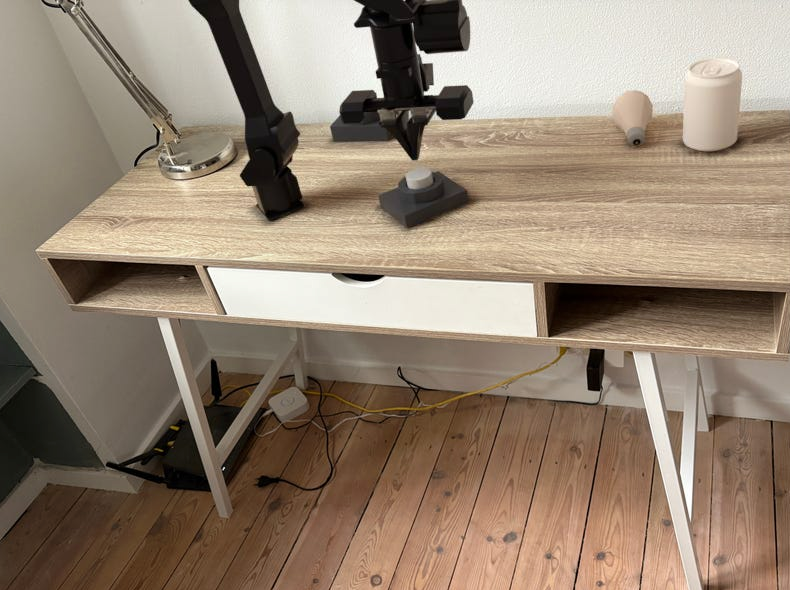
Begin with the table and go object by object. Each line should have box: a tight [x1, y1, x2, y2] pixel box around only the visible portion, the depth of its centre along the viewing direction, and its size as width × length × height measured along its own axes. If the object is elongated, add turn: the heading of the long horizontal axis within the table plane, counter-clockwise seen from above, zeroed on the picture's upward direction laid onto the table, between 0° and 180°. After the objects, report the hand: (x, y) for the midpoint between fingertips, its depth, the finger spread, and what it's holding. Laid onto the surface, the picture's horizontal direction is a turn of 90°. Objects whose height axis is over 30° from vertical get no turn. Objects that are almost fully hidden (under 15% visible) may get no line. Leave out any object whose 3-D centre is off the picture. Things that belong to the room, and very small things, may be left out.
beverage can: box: [682, 57, 743, 152], centre depth 125 cm, size 8×8×12 cm
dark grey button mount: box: [329, 112, 393, 142], centre depth 152 cm, size 11×8×5 cm
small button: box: [405, 167, 433, 189], centre depth 125 cm, size 4×4×2 cm
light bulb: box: [611, 90, 654, 148], centre depth 133 cm, size 7×7×11 cm
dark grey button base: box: [377, 170, 470, 229], centre depth 126 cm, size 11×9×4 cm
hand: (415, 159), depth 123 cm, fingers closed
